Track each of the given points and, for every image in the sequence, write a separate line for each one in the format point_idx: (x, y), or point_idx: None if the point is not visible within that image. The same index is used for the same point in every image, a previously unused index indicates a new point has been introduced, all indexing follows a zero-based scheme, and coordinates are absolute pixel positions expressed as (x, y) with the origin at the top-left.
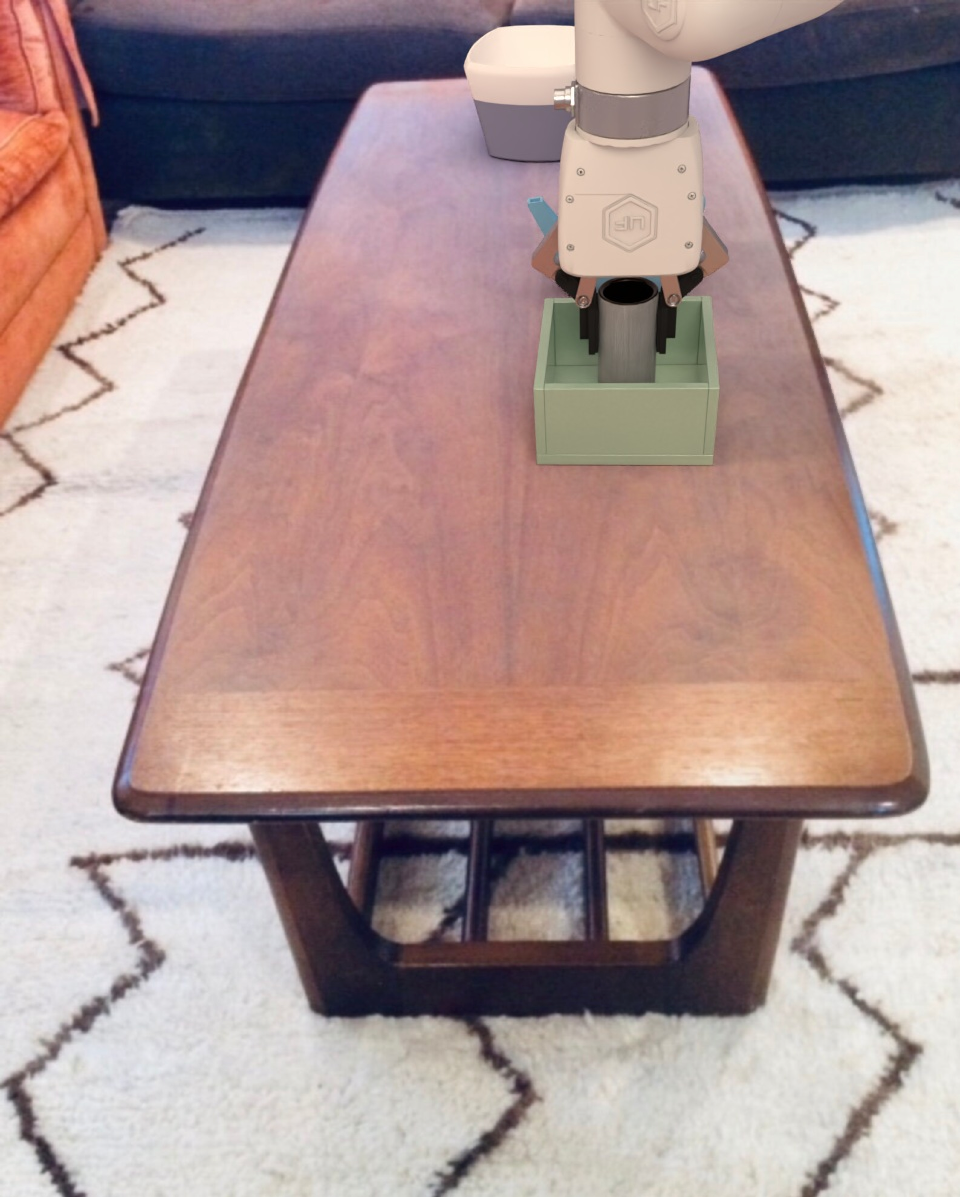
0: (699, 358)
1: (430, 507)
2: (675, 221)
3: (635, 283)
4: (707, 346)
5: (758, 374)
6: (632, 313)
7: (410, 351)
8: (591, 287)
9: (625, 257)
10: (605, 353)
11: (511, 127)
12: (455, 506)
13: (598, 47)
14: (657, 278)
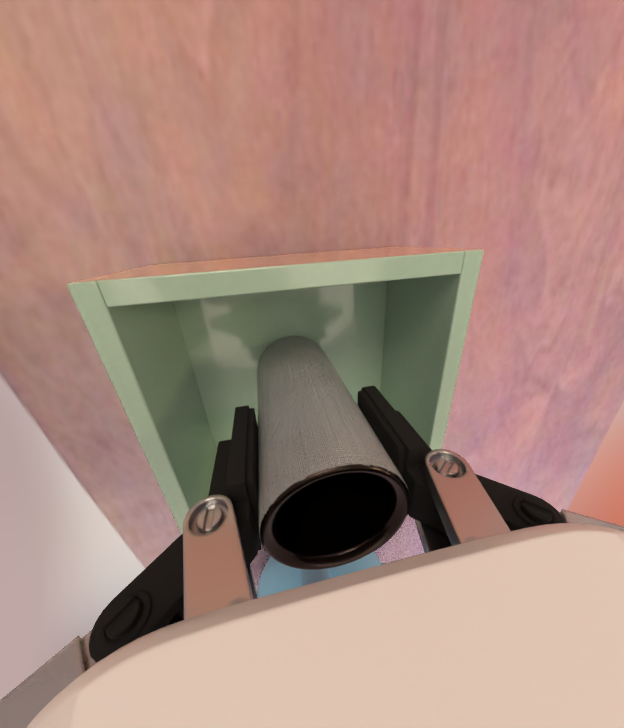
0: (207, 453)
1: (530, 131)
2: None
3: (320, 548)
4: (154, 436)
5: (146, 459)
6: (318, 450)
7: (502, 430)
8: (453, 503)
9: (467, 724)
10: (345, 390)
11: None
12: (499, 135)
13: None
14: (284, 565)
